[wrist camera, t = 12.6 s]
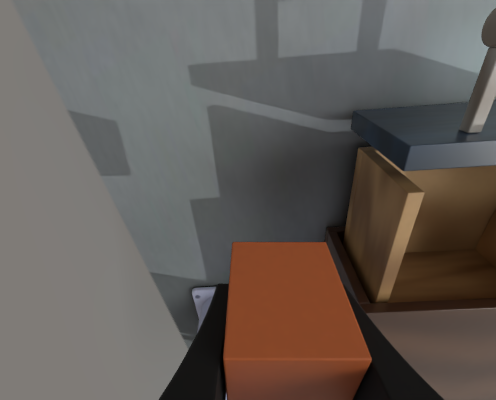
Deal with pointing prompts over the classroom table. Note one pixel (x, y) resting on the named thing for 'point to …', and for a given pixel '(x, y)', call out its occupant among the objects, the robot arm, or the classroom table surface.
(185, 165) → the classroom table surface
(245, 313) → the block
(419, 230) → the drawer
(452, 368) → the cabinet
